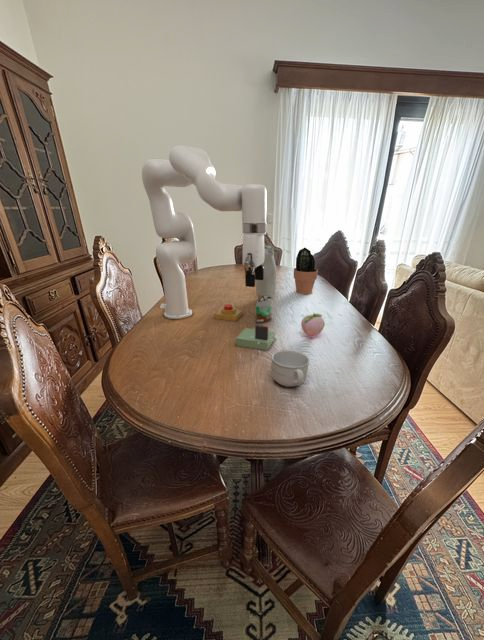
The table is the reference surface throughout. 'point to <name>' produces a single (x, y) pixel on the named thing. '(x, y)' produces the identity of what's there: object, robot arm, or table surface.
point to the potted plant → (305, 272)
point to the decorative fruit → (312, 324)
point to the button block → (228, 314)
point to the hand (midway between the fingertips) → (255, 282)
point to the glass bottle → (267, 274)
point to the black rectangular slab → (261, 332)
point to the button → (228, 307)
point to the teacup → (289, 367)
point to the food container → (263, 308)
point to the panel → (249, 339)
